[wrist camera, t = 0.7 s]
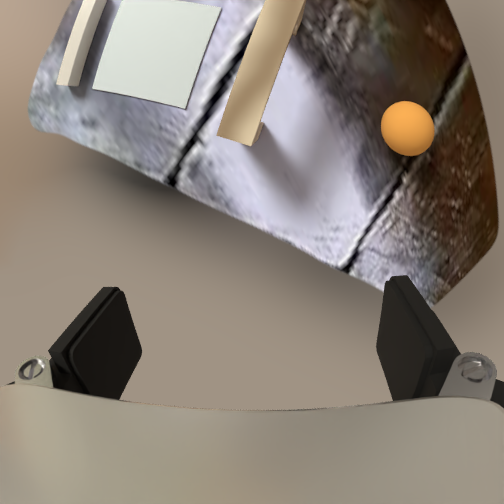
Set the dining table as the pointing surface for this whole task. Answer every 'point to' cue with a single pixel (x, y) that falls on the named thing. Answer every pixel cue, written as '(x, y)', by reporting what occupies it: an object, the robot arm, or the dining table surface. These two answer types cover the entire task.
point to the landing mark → (156, 49)
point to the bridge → (260, 70)
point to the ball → (407, 128)
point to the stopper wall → (80, 42)
